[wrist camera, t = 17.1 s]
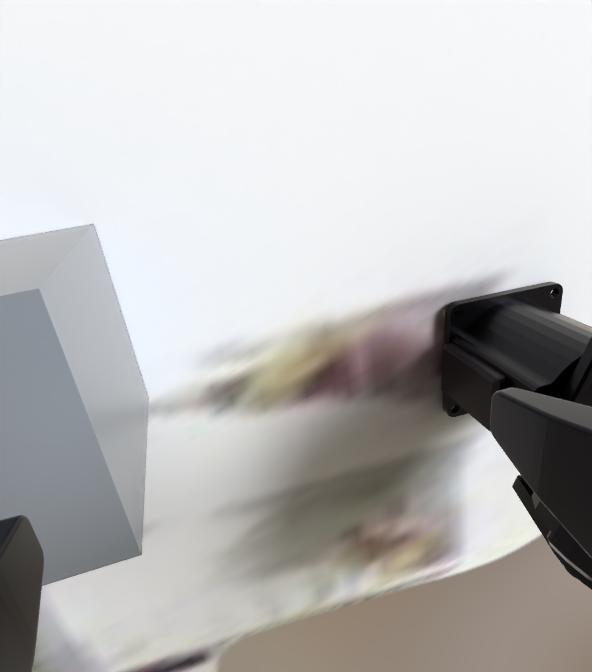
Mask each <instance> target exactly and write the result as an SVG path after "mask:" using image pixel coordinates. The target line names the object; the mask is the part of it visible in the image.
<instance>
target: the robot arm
mask: <svg viewBox="0 0 592 672" xmlns="http://www.w3.org/2000/svg"><path fill="white" fill-rule="evenodd" d="M552 290H553V291H552ZM551 291H552V293H551ZM550 293H551V294H550ZM562 293H563V288H562V286H561V285H560V284H558V283H555V282H546V283H541V284H537V285H532V286H527V287H522V288H518V289H513V290H508V291H503V292H499V293H494V294H489V295H484V296H480V297H475V298H470V299H465V300H461V301H456V302H453V303H451V304H450V305H449V306H448V307H447V309H446V313H445V346H444V348H443V363H442V390H443V410H444V411H445V413H447V414H448V415H449V416H451V417H456V416H460V415H464V414H467V413H469V414H470V415H471V416H473V417H474V418H475V419H476V420H477V421H478V422H480V423H481V424H482V425H483V426H484V427H485V428H487V429H488V430H489V431H490V432H491V433H492V435H493V436H494V438H495V439H496V441H497V442H498V444H499V445H500V446H501V448H502V449H503V451H504V452H505V453H506V455H507V456H508V457H509V459H510V460H511V462H512V463H513V464H514V466H515V467H516V468H517V470H518V471H519V473H520V474H521V475H518V476H517V478H516V480H515V482H514V484H513V486H512V487H513V489H514V490H515V492H516V493H517V495H518V497H519V498H520V500H521V501H522V503H523V505H524V506H525V508H526V509H527V511H528V512H529V514H530V516H531V517H532V519H533V520H534V522H535V524H536V525H537V527H538V528H539V530H540V531H541V533H542V535H543V536H544V538H545V539H546V541H547V543H548V544H549V546H550V547H551V549H552V551H553V552H554V554H555V555H556V556H557V558H558V559H559V560H560V562H561V563H562V564H563V565H564V567H565V568H566V570H567V571H568V572H569V573H570V574H571V575H572V576H574V577H575V578H577V579H579V580H580V581H581V582H582V583H583V584H585V585H586V586H588V587H589V588H590V589H592V327H590V326H588V325H585V324H583V323H581V322H578V321H576V320H573V319H571V318H569V317H566V316H564V315H561V314H560V308H561V301H562ZM458 309H459V312H458V314H457V315H455V312H456V311H457V310H458ZM454 405H455V407H454V408H452V407H453V406H454ZM43 569H44V554H43V550H42V547H41V545H40V543H39V541H38V538H37V536H36V534H35V532H34V530H33V528H32V525H31V523H30V521H29V519H28V518H27V517H26V516H24V515H18V516H14V517H10V518H7V519H3V520H0V672H32V667H33V661H34V656H35V648H36V640H37V630H38V620H39V609H40V599H41V589H42V579H43Z"/></svg>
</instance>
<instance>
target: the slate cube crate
mask: <svg viewBox="0 0 592 672" xmlns="http://www.w3.org/2000/svg"><path fill="white" fill-rule="evenodd" d="M148 400H149V397H148V394H147V391H146V388H145V385H144V382H143V378H142V375H141V372H140V369H139V366H138V362H137V359H136V356H135V353H134V350H133V347H132V343H131V340H130V337H129V334H128V331H127V327H126V324H125V321H124V318H123V315H122V312H121V308H120V305H119V302H118V299H117V296H116V292H115V289H114V286H113V283H112V280H111V276H110V273H109V270H108V267H107V264H106V261H105V257H104V254H103V251H102V248H101V245H100V241H99V238H98V235H97V232H96V229H95V226H94V224H90V225H84V226H79V227H73V228H67V229H62V230H56V231H50V232H45V233H39V234H33V235H27V236H22V237H16V238H10V239H5V240H0V520H3V519H7V518H10V517H14V516H18V515H24V516H26V517H27V518H28V519H29V521H30V523H31V525H32V528H33V530H34V532H35V534H36V536H37V538H38V541H39V543H40V545H41V547H42V550H43V554H44V569H43V579H42V586H43V585H47V584H50V583H53V582H56V581H59V580H63V579H66V578H69V577H72V576H75V575H79V574H82V573H85V572H88V571H91V570H95V569H98V568H101V567H104V566H107V565H111V564H114V563H117V562H120V561H123V560H127V559H130V558H133V557H136V556H139V555H142V536H143V513H144V490H145V468H146V445H147V423H148Z"/></svg>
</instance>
